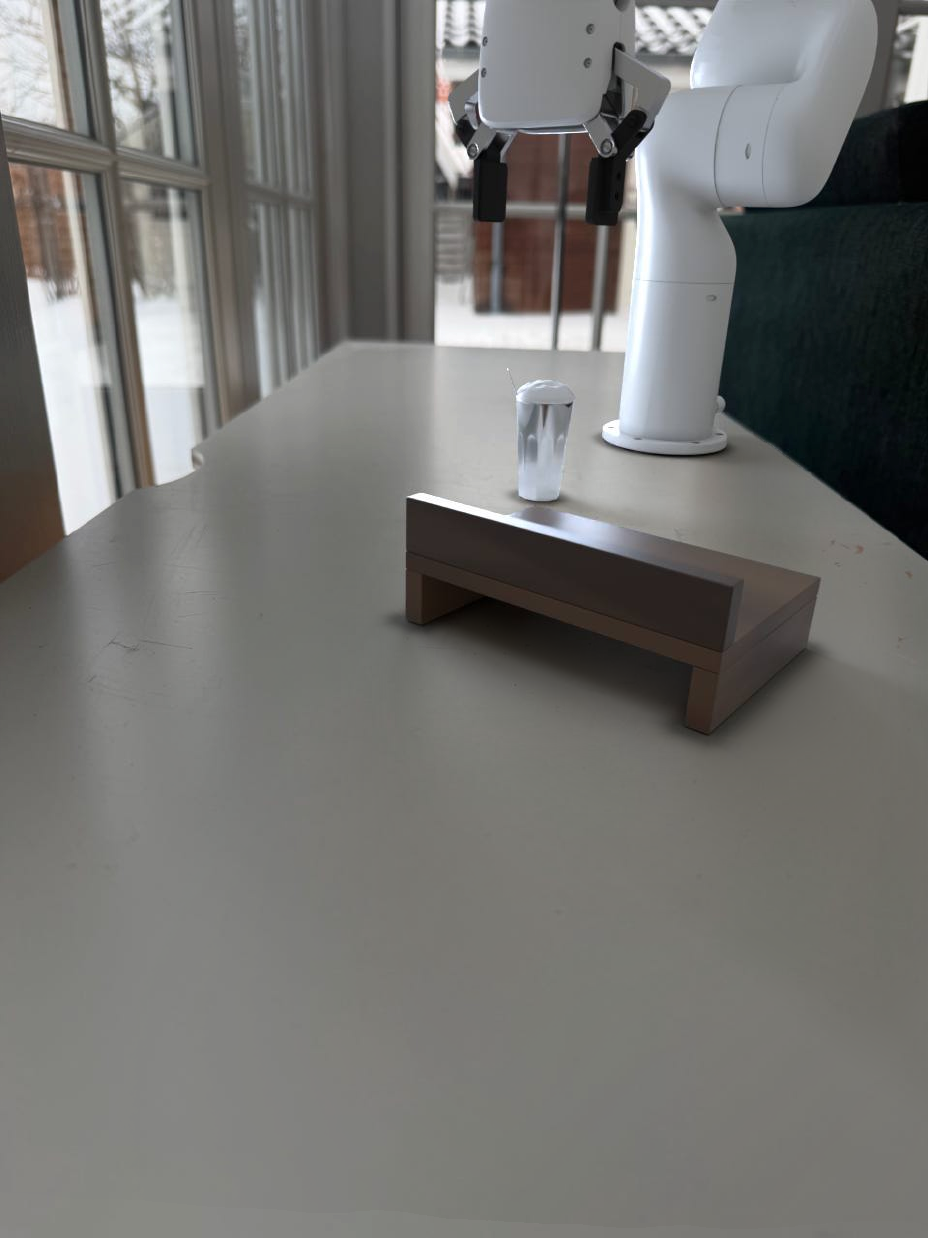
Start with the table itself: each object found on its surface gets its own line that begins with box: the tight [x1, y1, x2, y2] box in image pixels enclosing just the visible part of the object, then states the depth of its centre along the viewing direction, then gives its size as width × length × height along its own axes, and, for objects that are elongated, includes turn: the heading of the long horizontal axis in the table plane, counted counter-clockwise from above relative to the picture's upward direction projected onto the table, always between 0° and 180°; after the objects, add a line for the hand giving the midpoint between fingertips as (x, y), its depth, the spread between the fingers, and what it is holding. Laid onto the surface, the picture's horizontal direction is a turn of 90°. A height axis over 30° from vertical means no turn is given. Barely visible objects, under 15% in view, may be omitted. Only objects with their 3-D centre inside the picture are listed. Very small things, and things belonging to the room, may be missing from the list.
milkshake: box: [506, 368, 576, 502], centre depth 70 cm, size 5×5×10 cm
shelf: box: [404, 492, 822, 735], centre depth 46 cm, size 12×18×7 cm, turn 51°
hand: (542, 223), depth 63 cm, fingers open, 9 cm apart
